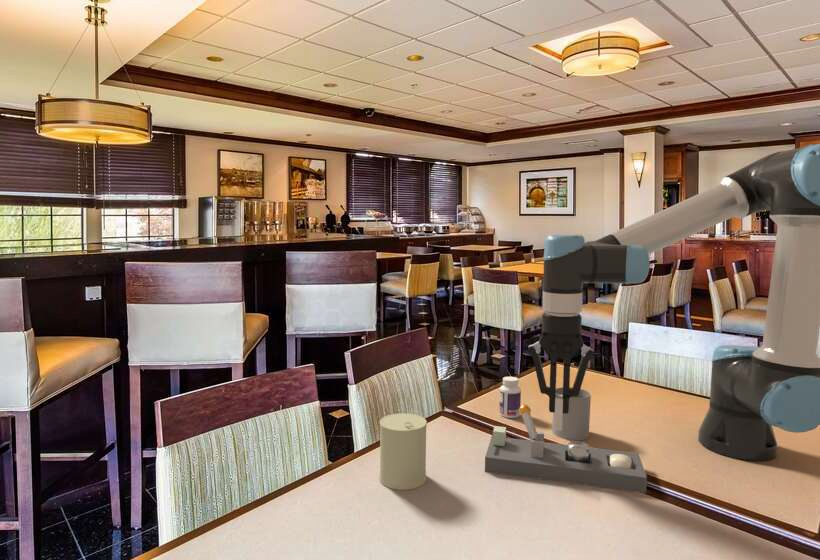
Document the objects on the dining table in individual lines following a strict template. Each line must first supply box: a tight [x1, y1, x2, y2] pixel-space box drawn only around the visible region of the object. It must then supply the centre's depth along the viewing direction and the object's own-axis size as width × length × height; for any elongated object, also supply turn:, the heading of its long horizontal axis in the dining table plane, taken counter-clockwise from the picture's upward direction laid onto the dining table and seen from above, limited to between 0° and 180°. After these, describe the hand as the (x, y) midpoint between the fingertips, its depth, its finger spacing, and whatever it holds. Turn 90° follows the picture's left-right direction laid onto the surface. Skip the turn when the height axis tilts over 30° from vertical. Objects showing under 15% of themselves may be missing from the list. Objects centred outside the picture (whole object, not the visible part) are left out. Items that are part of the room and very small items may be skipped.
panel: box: [484, 431, 648, 494], centre depth 107 cm, size 30×11×6 cm, turn 74°
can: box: [378, 412, 428, 491], centre depth 103 cm, size 9×9×12 cm
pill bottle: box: [498, 376, 522, 419], centre depth 137 cm, size 5×5×10 cm
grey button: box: [567, 440, 590, 463], centre depth 106 cm, size 4×4×4 cm
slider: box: [492, 425, 507, 446], centre depth 113 cm, size 2×3×3 cm
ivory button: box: [610, 454, 632, 469], centre depth 104 cm, size 4×4×4 cm
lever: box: [519, 404, 540, 441], centre depth 109 cm, size 2×3×9 cm
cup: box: [551, 386, 592, 441], centre depth 126 cm, size 8×8×10 cm
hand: (558, 427), depth 107 cm, fingers closed
